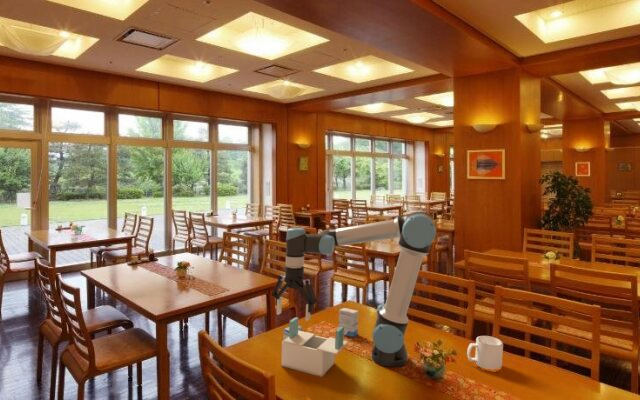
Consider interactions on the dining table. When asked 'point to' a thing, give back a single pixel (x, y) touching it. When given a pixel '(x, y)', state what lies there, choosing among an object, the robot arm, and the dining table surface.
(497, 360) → the mug
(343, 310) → the ink box
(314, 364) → the carton
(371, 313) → the dining table surface
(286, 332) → the medicine box
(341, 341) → the flap near
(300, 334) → the flap far
